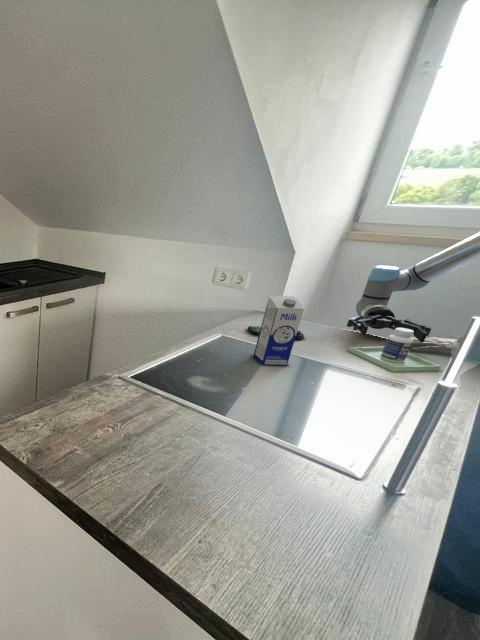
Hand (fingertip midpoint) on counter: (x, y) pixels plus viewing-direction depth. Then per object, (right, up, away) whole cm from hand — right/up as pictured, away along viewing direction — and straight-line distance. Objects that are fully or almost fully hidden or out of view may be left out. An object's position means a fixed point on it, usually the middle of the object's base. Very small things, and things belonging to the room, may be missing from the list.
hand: (393, 334), depth 121 cm
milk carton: (-39, -8, 0) cm, 40 cm away
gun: (-23, +1, +20) cm, 30 cm away
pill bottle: (-3, -8, -2) cm, 9 cm away
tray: (-3, -8, -2) cm, 9 cm away
